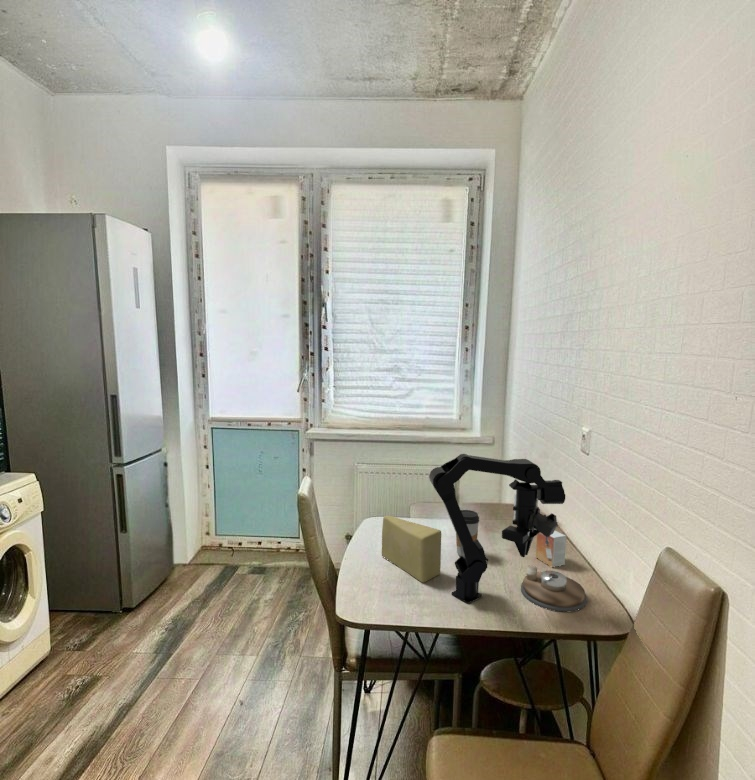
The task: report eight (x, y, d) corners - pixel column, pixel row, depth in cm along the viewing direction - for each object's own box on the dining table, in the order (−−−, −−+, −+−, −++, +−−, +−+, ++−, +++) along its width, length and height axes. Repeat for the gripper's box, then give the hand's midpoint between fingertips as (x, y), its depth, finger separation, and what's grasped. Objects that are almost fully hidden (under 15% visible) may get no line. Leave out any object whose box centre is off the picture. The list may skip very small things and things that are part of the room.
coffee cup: (476, 561, 152) (478, 519, 151) (452, 557, 154) (453, 515, 153) (479, 551, 160) (480, 511, 158) (456, 548, 162) (457, 508, 161)
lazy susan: (565, 614, 119) (566, 596, 119) (511, 588, 132) (511, 571, 132) (595, 593, 130) (596, 577, 129) (542, 571, 143) (543, 556, 143)
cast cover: (558, 595, 126) (558, 584, 126) (535, 584, 132) (536, 574, 131) (570, 587, 130) (571, 577, 130) (548, 577, 136) (549, 568, 136)
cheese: (372, 560, 152) (373, 517, 151) (392, 551, 159) (392, 510, 158) (422, 584, 136) (423, 537, 135) (441, 574, 143) (442, 528, 142)
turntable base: (566, 619, 119) (566, 616, 119) (506, 590, 133) (506, 586, 133) (597, 597, 130) (598, 594, 130) (539, 572, 145) (539, 569, 144)
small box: (535, 558, 155) (536, 528, 154) (547, 555, 157) (549, 526, 156) (552, 568, 148) (553, 537, 147) (565, 565, 150) (566, 535, 149)
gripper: (541, 519, 116) (538, 576, 117) (565, 502, 130) (563, 553, 131) (501, 509, 124) (499, 563, 125) (528, 494, 138) (526, 542, 139)
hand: (524, 555), depth 130 cm, fingers closed
